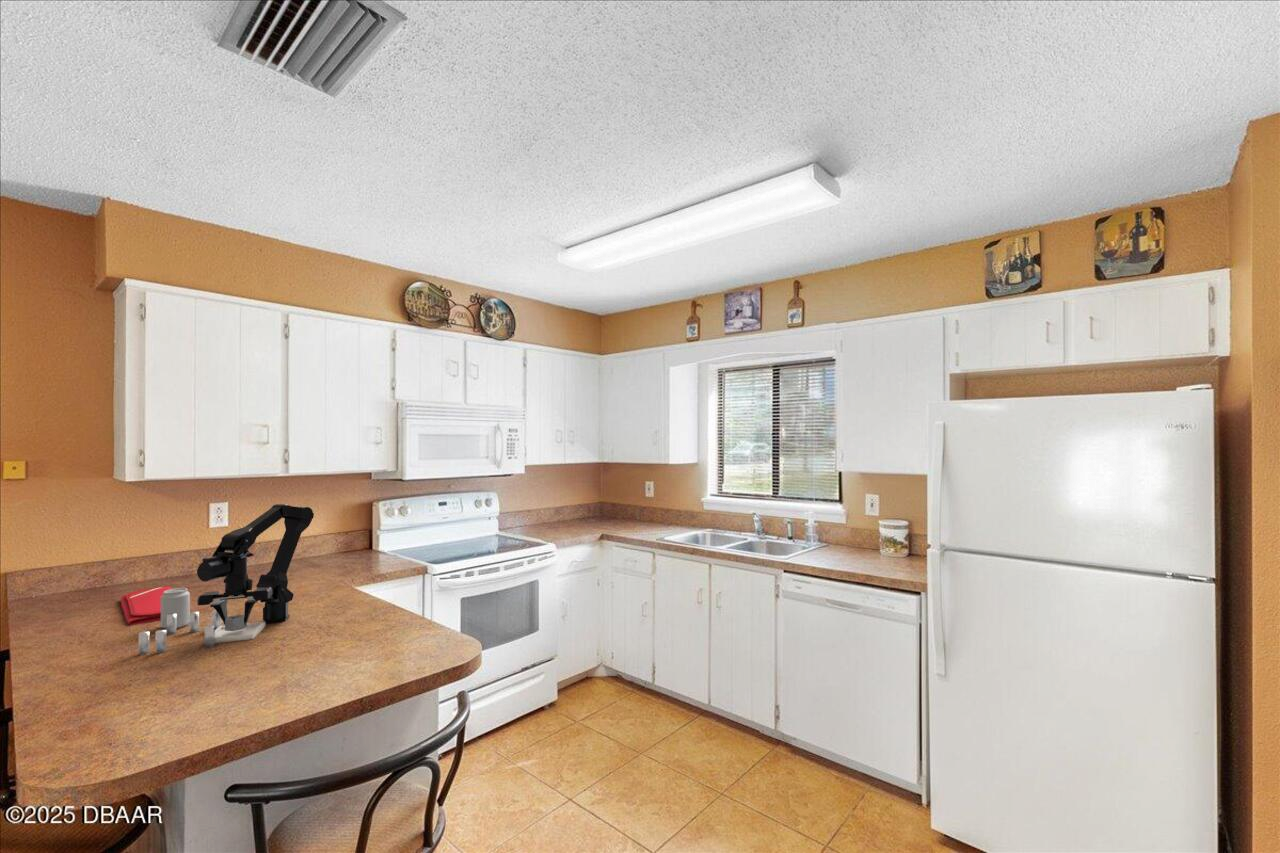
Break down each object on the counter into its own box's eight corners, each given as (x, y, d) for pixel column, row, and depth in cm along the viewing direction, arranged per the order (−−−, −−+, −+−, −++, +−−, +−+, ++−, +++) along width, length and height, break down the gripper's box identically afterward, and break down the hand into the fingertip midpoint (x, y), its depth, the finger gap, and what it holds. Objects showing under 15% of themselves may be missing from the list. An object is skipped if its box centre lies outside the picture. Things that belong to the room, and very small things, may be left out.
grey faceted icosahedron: (248, 624, 185) (248, 613, 185) (242, 630, 179) (242, 618, 180) (230, 626, 183) (230, 615, 183) (223, 632, 178) (223, 620, 178)
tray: (265, 626, 189) (265, 621, 189) (252, 639, 177) (252, 634, 177) (220, 630, 185) (220, 626, 185) (204, 644, 173) (204, 639, 173)
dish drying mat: (127, 627, 191) (127, 616, 191) (119, 602, 220) (119, 592, 220) (187, 616, 202) (187, 605, 202) (172, 594, 231) (172, 584, 231)
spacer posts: (236, 626, 190) (236, 607, 190) (212, 647, 171) (212, 626, 171) (169, 632, 184) (168, 613, 184) (136, 655, 165) (136, 634, 165)
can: (173, 630, 186) (173, 593, 186) (154, 629, 187) (154, 592, 187) (195, 623, 193) (195, 587, 193) (177, 622, 195) (177, 586, 195)
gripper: (277, 565, 192) (277, 612, 192) (210, 570, 186) (211, 618, 186) (267, 573, 182) (267, 622, 182) (196, 578, 176) (196, 629, 176)
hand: (236, 623), depth 181 cm, fingers closed on grey faceted icosahedron, 5 cm apart
